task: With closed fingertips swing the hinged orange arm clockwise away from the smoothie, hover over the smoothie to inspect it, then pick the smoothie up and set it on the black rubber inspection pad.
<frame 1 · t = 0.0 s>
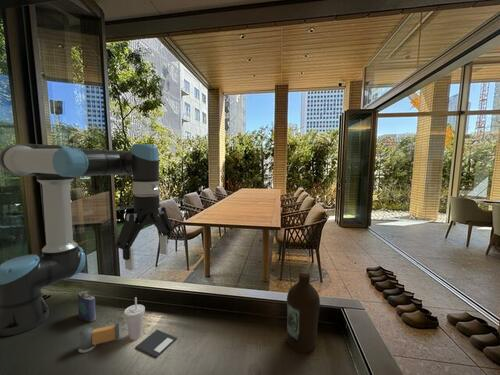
hand: (148, 261, 79), 28 cm above the counter, fingers open, 13 cm apart
smoothie: (135, 336, 85), on the counter
olive oil: (300, 342, 83), on the counter
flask: (86, 318, 94), on the counter
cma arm: (100, 335, 80), point 3 cm above the counter, hinge at 0.0°
pad: (156, 343, 81), on the counter
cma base: (87, 346, 79), on the counter
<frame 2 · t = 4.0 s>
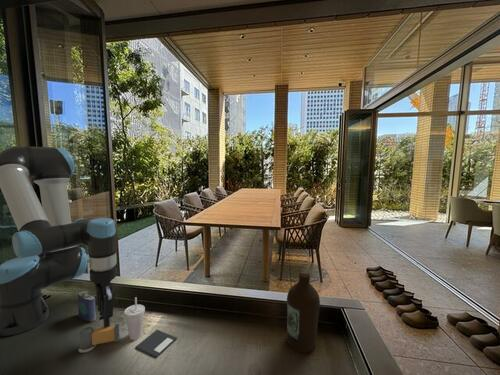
hand: (106, 333, 83), 2 cm above the counter, fingers closed
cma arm: (99, 335, 80), point 3 cm above the counter, hinge at -3.8°, touching gripper
everything else where it was.
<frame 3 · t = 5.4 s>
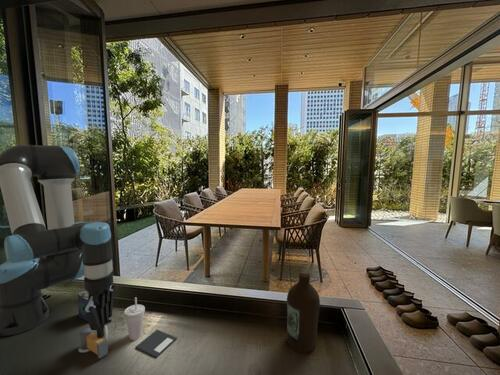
hand: (103, 343, 79), 2 cm above the counter, fingers closed
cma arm: (93, 342, 77), point 3 cm above the counter, hinge at -52.1°, touching gripper
everything else where it was.
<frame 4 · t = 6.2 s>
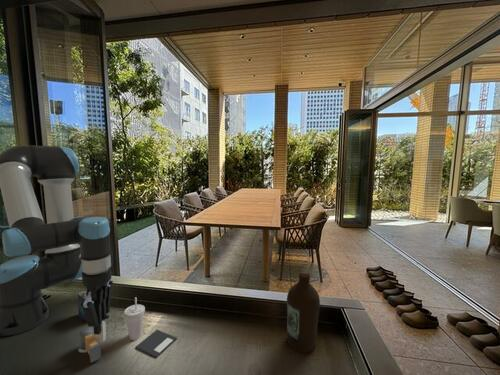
hand: (100, 340, 77), 4 cm above the counter, fingers closed
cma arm: (90, 344, 77), point 3 cm above the counter, hinge at -65.8°, touching gripper
everything else where it was.
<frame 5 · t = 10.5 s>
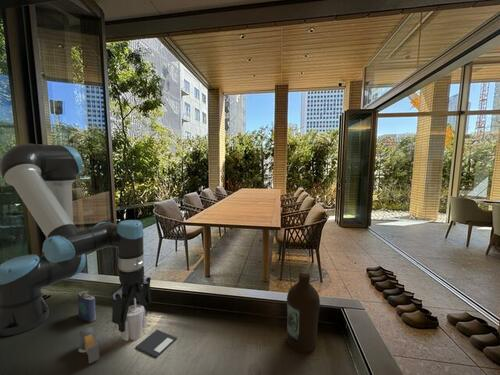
hand: (133, 332, 84), 1 cm above the counter, fingers closed on smoothie, 6 cm apart
smoothie: (135, 336, 85), on the counter, touching gripper
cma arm: (89, 344, 76), point 3 cm above the counter, hinge at -68.5°
everything else where it was.
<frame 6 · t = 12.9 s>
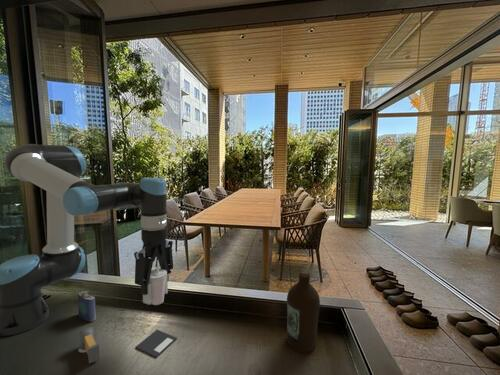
hand: (155, 297, 80), 16 cm above the counter, fingers closed on smoothie, 6 cm apart
smoothie: (157, 302, 80), point 14 cm above the counter, touching gripper
everything else where it was.
when the fingers open (3 cm above the counter, at t = 15.4 s): smoothie drops 1 cm, resting on pad.
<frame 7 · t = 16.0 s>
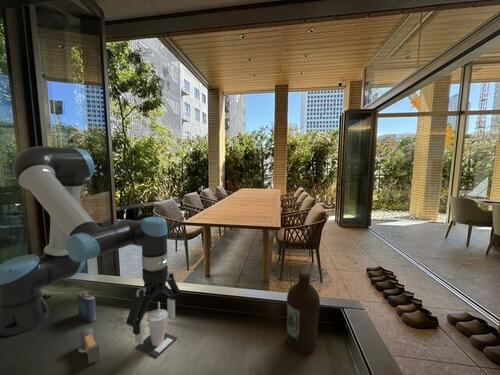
hand: (156, 328, 81), 5 cm above the counter, fingers open, 13 cm apart
smoothie: (157, 342, 81), resting on pad
everything else where it was.
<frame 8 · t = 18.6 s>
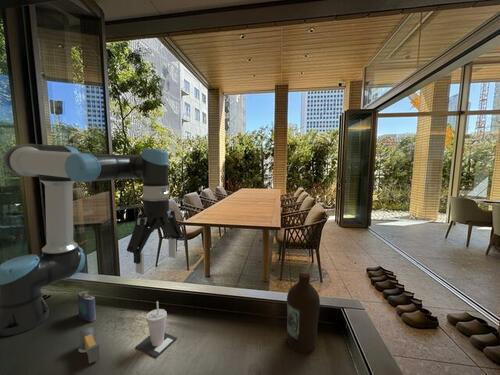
hand: (157, 264, 79), 27 cm above the counter, fingers open, 13 cm apart
nothing on the counter moved.
at the end: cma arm at -68° (first picture: +0°); smoothie inside the target area on the pad (0.4 cm from its centre), point 0.4 cm above the pad's base; smoothie tilted 2° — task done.
